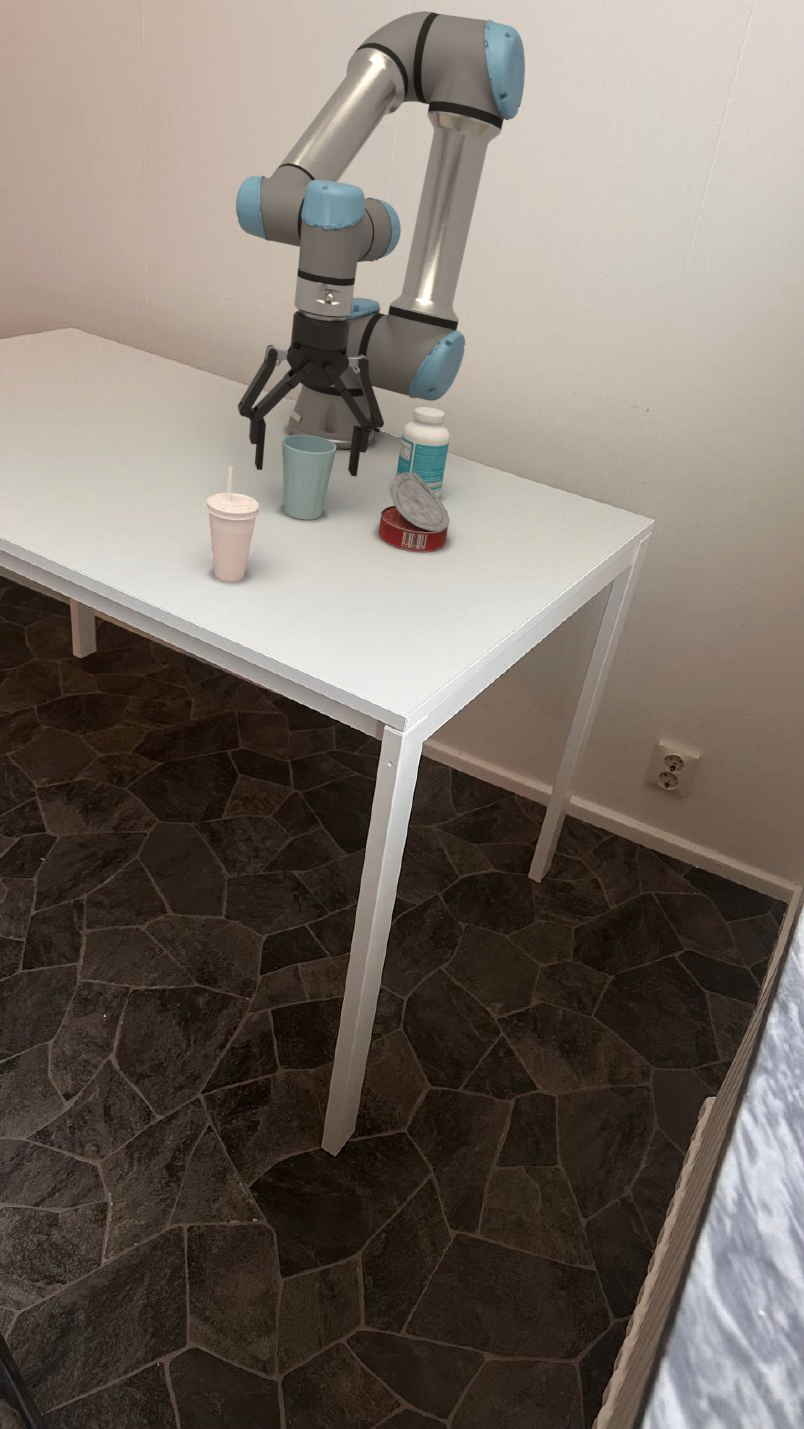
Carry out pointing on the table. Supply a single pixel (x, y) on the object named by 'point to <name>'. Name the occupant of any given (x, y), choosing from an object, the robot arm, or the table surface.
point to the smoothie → (231, 531)
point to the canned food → (414, 516)
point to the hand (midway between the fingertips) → (306, 470)
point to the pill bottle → (425, 447)
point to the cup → (306, 474)
